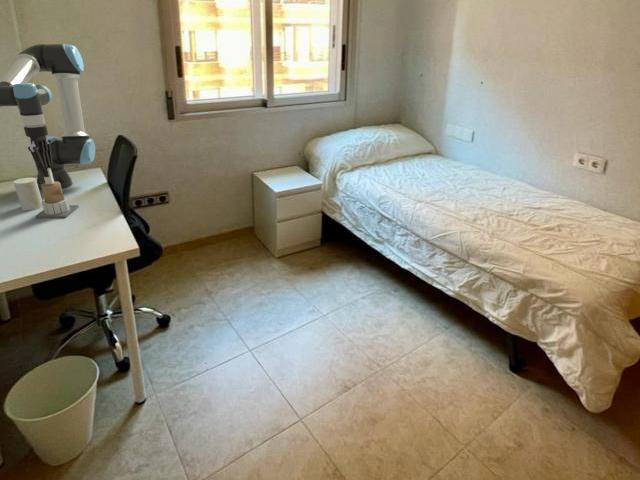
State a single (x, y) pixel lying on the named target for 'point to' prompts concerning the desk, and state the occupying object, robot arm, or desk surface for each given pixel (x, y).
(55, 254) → the desk surface
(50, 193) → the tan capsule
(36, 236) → the desk surface
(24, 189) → the cup
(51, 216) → the socket
